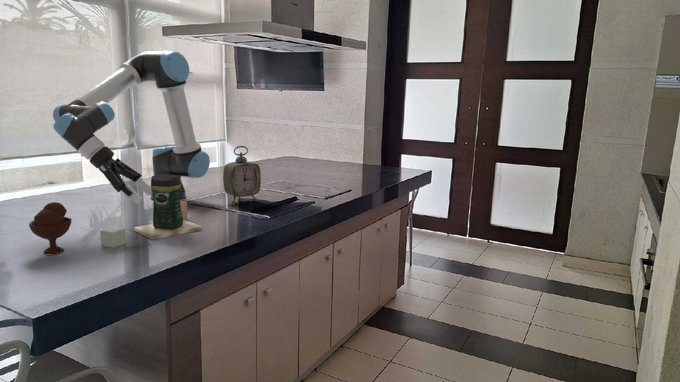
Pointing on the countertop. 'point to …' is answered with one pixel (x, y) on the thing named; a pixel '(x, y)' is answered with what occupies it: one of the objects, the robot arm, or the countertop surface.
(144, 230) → the birch board
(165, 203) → the coffee jar
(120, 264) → the countertop surface
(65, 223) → the ice cream bowl
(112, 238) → the grey-green block
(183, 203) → the terracotta cup
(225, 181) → the tabletop clock
